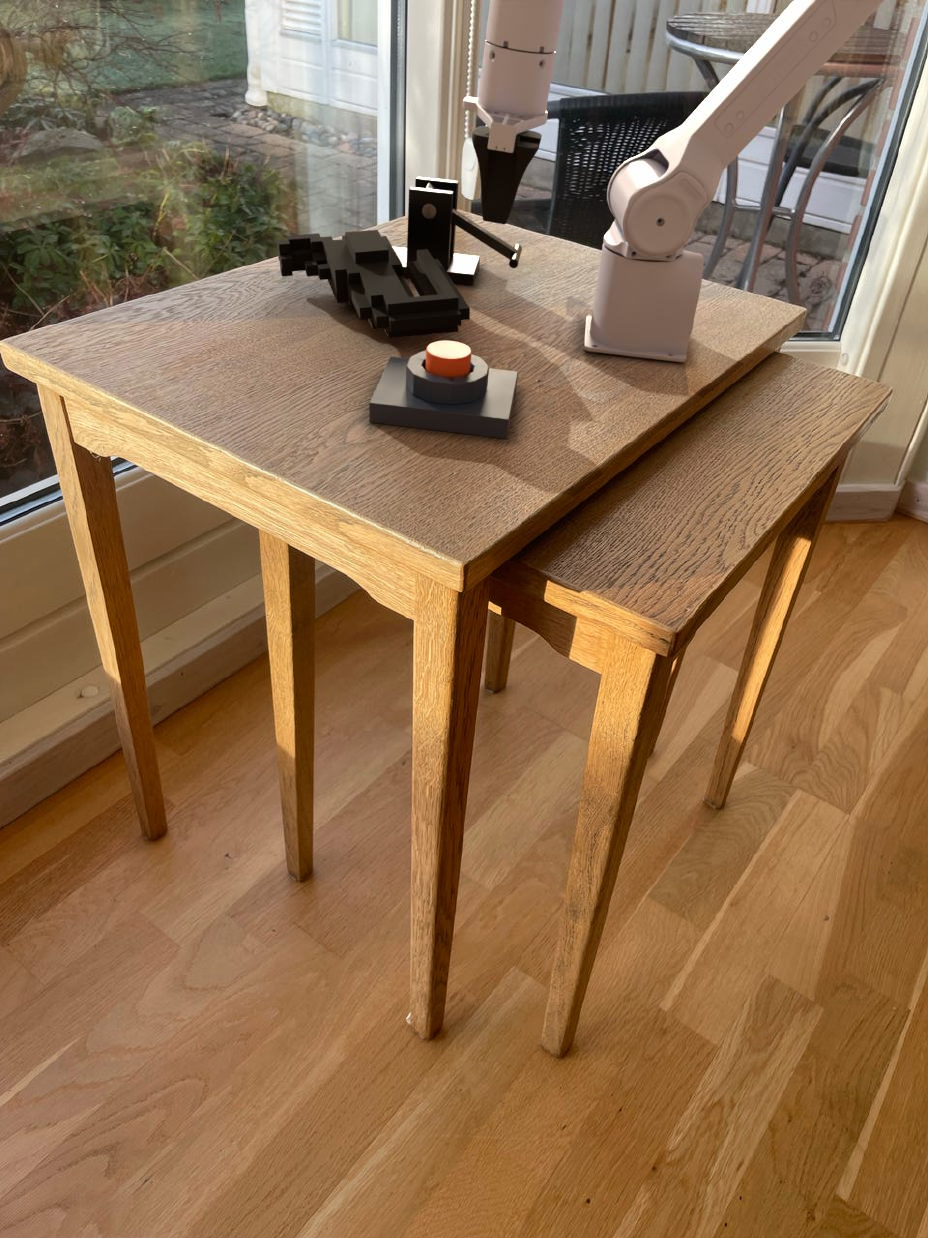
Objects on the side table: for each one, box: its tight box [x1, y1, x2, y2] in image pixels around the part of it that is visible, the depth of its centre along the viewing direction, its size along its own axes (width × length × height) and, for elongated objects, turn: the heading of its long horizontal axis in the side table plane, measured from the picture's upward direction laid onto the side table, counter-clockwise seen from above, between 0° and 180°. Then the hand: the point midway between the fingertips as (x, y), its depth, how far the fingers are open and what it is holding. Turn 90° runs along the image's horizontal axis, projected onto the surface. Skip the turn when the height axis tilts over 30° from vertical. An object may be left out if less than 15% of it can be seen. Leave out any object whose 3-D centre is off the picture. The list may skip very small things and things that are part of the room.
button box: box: [368, 350, 519, 440], centre depth 80 cm, size 11×9×4 cm
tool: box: [276, 229, 471, 339], centre depth 94 cm, size 5×20×15 cm
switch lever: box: [426, 183, 523, 269], centre depth 103 cm, size 12×5×2 cm, turn 83°
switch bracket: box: [392, 176, 481, 287], centre depth 103 cm, size 10×6×9 cm, turn 83°
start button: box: [425, 340, 473, 378], centre depth 79 cm, size 4×4×2 cm
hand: (494, 220), depth 87 cm, fingers closed
